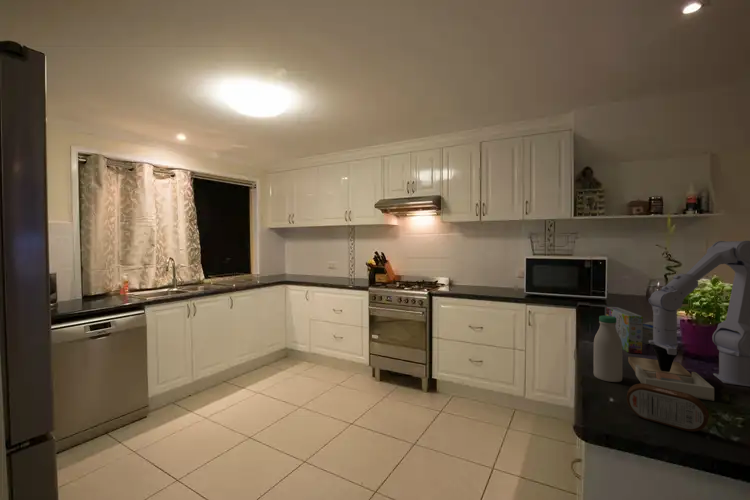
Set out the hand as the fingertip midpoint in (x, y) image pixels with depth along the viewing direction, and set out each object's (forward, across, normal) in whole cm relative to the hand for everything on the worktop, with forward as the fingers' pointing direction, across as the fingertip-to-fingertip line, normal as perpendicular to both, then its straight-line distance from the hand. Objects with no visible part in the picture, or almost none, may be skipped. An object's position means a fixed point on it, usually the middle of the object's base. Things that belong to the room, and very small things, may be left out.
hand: (664, 370), depth 107 cm
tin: (+3, +34, -8) cm, 35 cm away
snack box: (+3, -37, -5) cm, 38 cm away
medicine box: (+3, -47, +7) cm, 48 cm away
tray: (+3, +7, 0) cm, 7 cm away
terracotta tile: (+2, +4, 0) cm, 4 cm away
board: (+3, -7, 0) cm, 8 cm away
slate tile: (+2, +9, 0) cm, 9 cm away
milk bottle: (+3, +7, -16) cm, 18 cm away
